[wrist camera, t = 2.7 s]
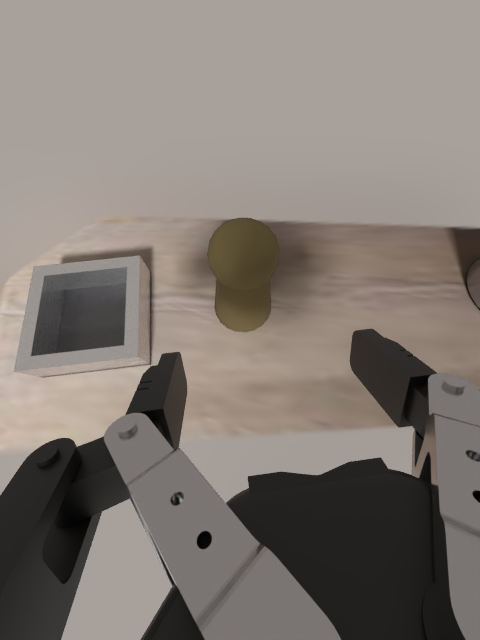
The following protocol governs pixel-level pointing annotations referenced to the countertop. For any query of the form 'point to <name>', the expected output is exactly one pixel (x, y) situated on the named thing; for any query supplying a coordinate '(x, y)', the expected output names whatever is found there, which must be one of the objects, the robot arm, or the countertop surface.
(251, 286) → the cork
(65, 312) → the grey shallow square box
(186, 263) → the countertop surface
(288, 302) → the countertop surface
